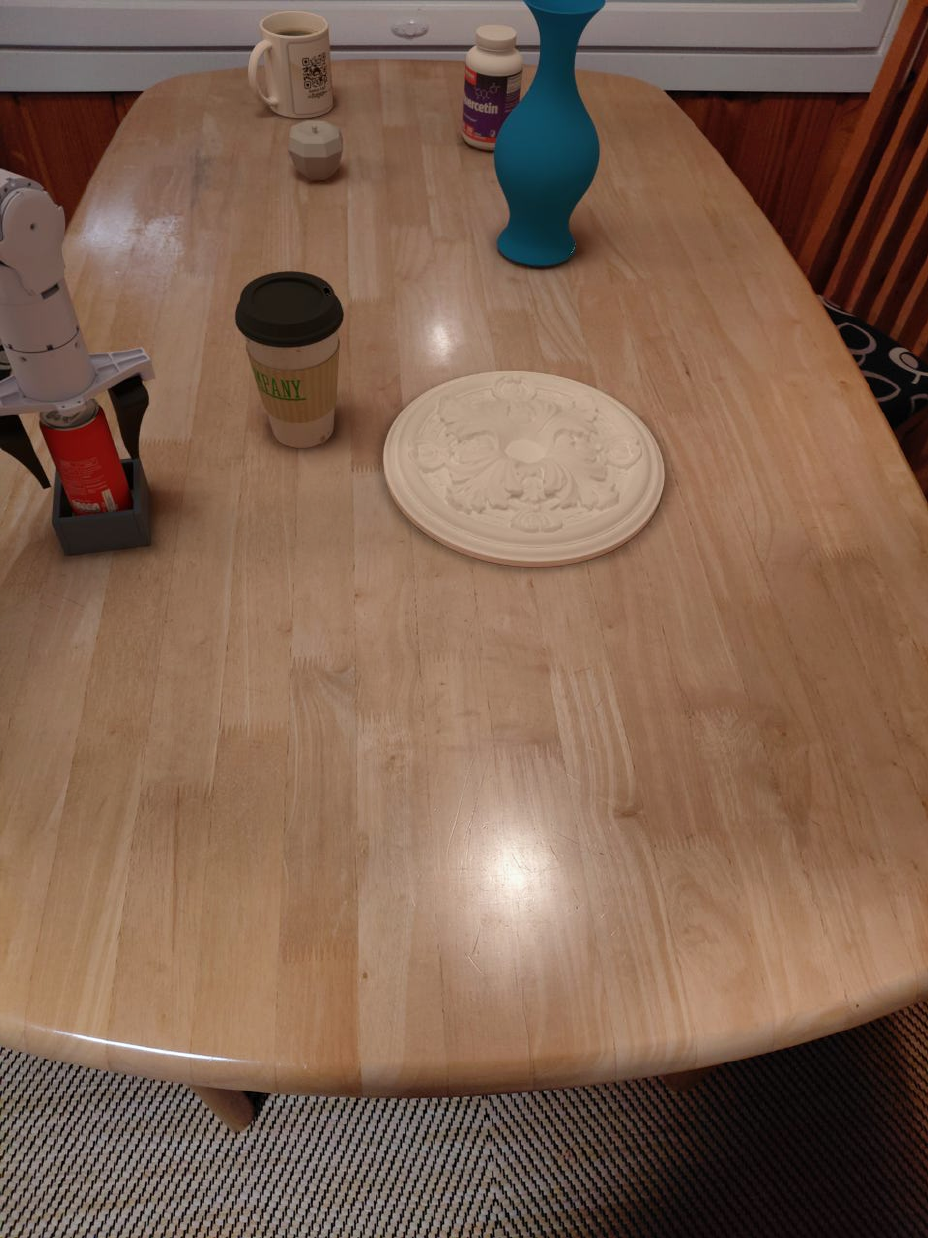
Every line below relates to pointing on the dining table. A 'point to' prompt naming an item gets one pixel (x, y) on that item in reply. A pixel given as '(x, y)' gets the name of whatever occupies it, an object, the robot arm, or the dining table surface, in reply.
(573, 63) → the vase
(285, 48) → the mug
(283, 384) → the coffee cup
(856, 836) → the dining table surface
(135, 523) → the grey square box
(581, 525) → the ceiling medallion
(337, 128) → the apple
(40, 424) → the beverage can
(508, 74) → the pill bottle
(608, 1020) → the dining table surface
